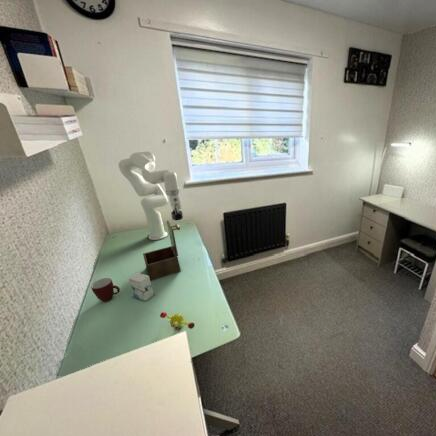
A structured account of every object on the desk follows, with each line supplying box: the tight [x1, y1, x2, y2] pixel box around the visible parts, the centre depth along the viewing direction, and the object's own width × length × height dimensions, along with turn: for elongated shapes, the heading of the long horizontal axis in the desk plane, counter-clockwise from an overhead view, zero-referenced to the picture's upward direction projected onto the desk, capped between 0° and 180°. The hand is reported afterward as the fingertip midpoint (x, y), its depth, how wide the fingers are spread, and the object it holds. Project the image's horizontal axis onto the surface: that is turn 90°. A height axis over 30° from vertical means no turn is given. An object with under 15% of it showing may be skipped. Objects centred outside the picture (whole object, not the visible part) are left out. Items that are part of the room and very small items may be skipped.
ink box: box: [128, 272, 154, 301], centre depth 118 cm, size 9×5×12 cm, turn 71°
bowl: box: [170, 210, 184, 221], centre depth 156 cm, size 7×7×4 cm
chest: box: [142, 245, 181, 282], centre depth 139 cm, size 16×15×10 cm
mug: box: [90, 277, 121, 303], centre depth 116 cm, size 10×8×10 cm
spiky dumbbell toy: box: [159, 311, 195, 330], centre depth 101 cm, size 18×6×7 cm, turn 69°
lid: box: [166, 220, 181, 257], centre depth 139 cm, size 17×15×5 cm
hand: (177, 217), depth 156 cm, fingers closed on bowl, 6 cm apart
